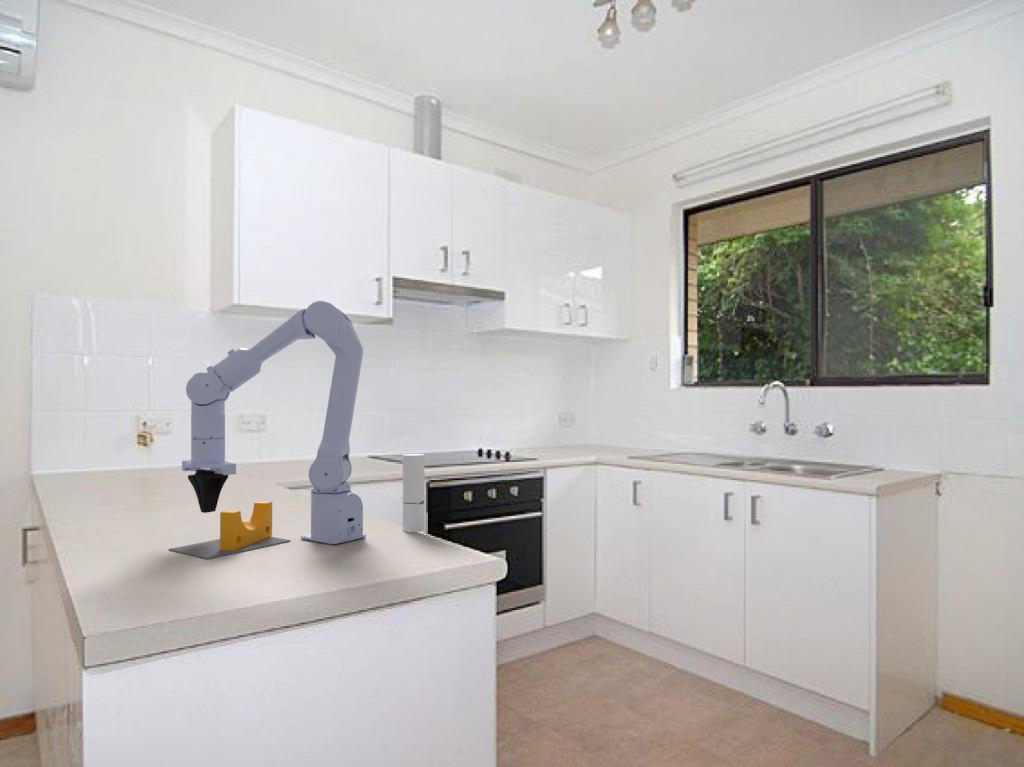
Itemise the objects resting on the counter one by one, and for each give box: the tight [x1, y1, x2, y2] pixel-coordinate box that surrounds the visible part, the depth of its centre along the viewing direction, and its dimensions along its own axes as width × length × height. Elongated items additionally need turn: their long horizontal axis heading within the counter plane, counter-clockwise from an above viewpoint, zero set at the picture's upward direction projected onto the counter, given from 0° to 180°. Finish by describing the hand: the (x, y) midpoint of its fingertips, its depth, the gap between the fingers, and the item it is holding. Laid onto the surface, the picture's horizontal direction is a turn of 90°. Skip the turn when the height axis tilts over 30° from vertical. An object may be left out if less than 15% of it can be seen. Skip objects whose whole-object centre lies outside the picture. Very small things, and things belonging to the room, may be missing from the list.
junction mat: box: [168, 536, 291, 560], centre depth 115 cm, size 12×16×1 cm
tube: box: [402, 453, 425, 533], centre depth 129 cm, size 4×4×15 cm
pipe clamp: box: [219, 500, 273, 550], centre depth 117 cm, size 12×4×6 cm, turn 169°
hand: (208, 511), depth 120 cm, fingers closed
